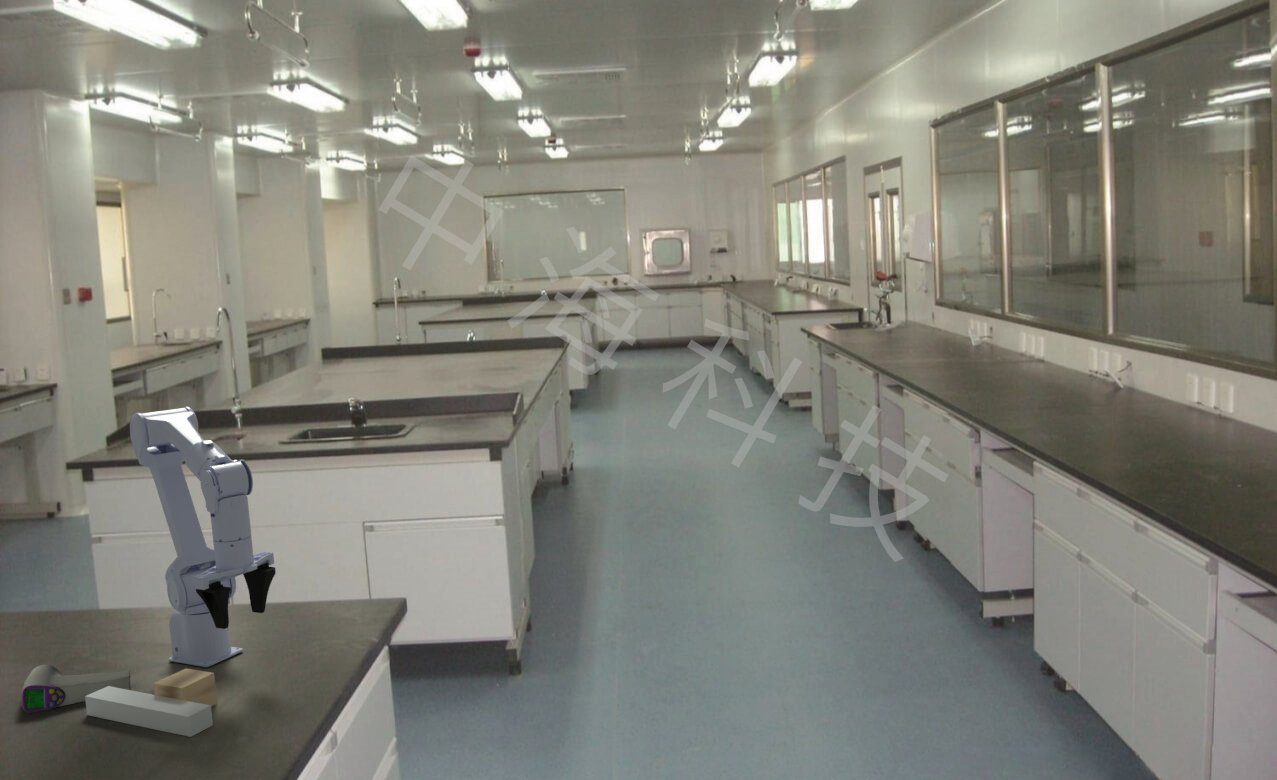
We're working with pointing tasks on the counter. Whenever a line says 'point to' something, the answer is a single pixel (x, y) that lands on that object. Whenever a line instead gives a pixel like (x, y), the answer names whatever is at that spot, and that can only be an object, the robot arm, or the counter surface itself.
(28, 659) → the counter surface
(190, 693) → the block
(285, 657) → the counter surface
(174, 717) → the board
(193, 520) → the robot arm
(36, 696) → the infrared thermometer
